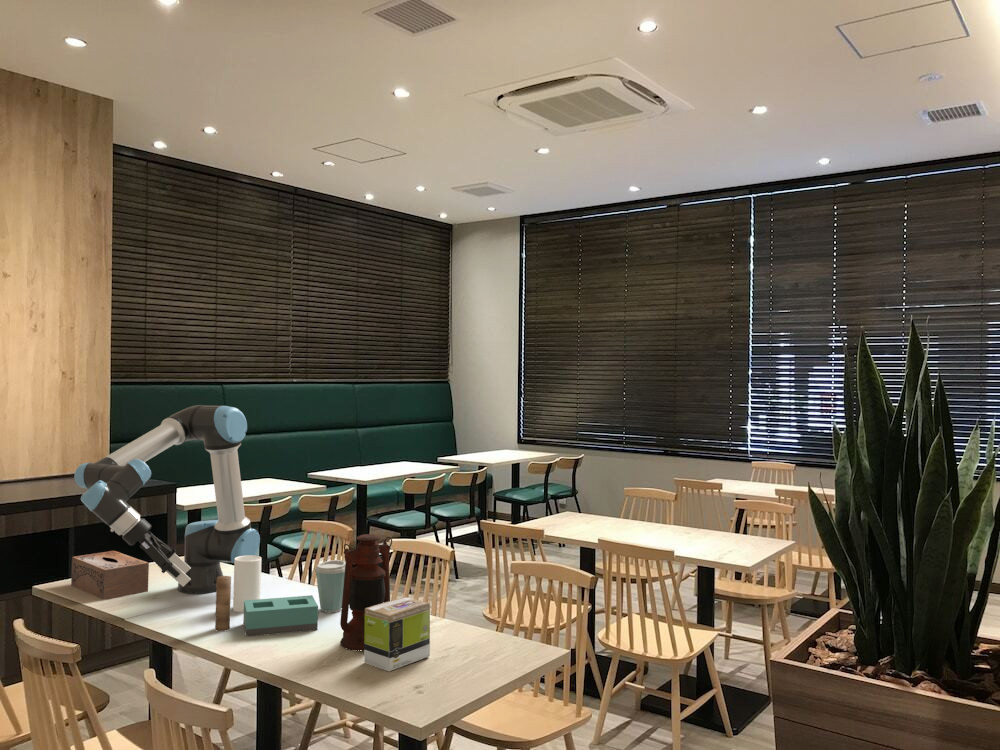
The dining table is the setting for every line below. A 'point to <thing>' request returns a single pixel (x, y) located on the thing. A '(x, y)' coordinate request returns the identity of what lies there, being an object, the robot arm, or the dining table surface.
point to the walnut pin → (223, 603)
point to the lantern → (363, 586)
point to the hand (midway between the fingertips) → (187, 577)
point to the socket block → (280, 615)
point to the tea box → (397, 633)
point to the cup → (246, 580)
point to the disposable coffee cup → (330, 584)
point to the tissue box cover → (110, 574)
